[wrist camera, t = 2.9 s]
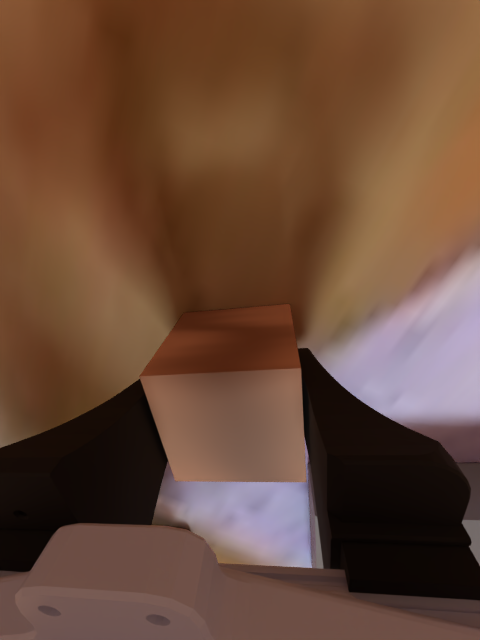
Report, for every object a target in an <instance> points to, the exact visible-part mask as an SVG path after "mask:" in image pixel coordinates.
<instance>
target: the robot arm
mask: <svg viewBox="0 0 480 640" xmlns="http://www.w3.org/2000/svg"><path fill="white" fill-rule="evenodd" d="M298 354H299V360H300V365H301V378H302V400H303V421H304V436H305V441H306V445H307V449H308V454H309V459H310V466H311V473H312V481H313V488H314V496H315V504H316V511H317V519H318V527H319V536H320V544H321V552H322V560H323V568H324V569H319V568H300V567H280V566H261V565H241V564H221V563H218V562H217V558H216V555H215V553H214V552H213V550H212V549H211V547H210V546H209V545H208V544H207V542H206V541H205V540H204V538H202V537H200V536H198V535H196V534H194V533H192V532H191V531H189V530H187V529H181V528H176V527H171V526H158V525H151V524H152V520H153V515H154V511H155V507H156V503H157V499H158V495H159V491H160V487H161V483H162V479H163V476H164V472H165V468H166V465H167V462H168V458H167V455H166V452H165V450H164V447H163V444H162V441H161V438H160V435H159V432H158V429H157V426H156V423H155V420H154V418H153V415H152V412H151V409H150V406H149V403H148V400H147V397H146V394H145V391H144V388H143V386H142V383H141V380H140V379H139V380H138V381H136V382H135V383H133V384H132V385H130V386H129V387H128V388H126V389H125V390H123V391H122V392H121V393H119V394H117V395H116V396H114V397H113V398H111V399H110V400H108V401H106V402H105V403H103V404H101V405H99V406H98V407H96V408H94V409H92V410H90V411H88V412H86V413H84V414H82V415H80V416H79V417H77V418H75V419H73V420H71V421H68V422H66V423H64V424H62V425H60V426H57V427H55V428H53V429H50V430H48V431H45V432H43V433H41V434H38V435H35V436H33V437H30V438H27V439H24V440H22V441H19V442H16V443H13V444H11V445H8V446H5V447H2V448H0V640H480V565H479V563H478V562H477V560H476V558H475V556H474V554H473V553H472V551H471V549H470V547H469V546H471V543H472V542H471V538H470V536H469V535H468V533H467V531H466V529H465V528H464V526H463V524H462V521H463V518H464V515H465V512H466V509H467V506H468V503H469V500H470V495H471V487H470V485H469V482H468V480H467V478H466V477H465V475H464V474H463V472H462V471H461V469H460V468H459V466H458V465H457V464H456V462H455V461H454V460H453V458H452V457H451V456H450V455H449V454H448V452H447V451H446V450H445V449H444V448H443V447H442V445H441V444H440V443H439V442H438V441H436V440H433V439H431V438H429V437H427V436H424V435H422V434H420V433H417V432H415V431H413V430H411V429H408V428H406V427H404V426H402V425H401V424H399V423H397V422H395V421H393V420H391V419H389V418H387V417H386V416H384V415H382V414H380V413H379V412H377V411H375V410H374V409H372V408H371V407H369V406H368V405H366V404H364V403H363V402H362V401H360V400H359V399H357V398H356V397H355V396H353V395H352V394H351V393H350V392H348V391H347V390H346V389H345V388H344V387H343V386H341V385H340V384H339V383H338V382H337V381H336V380H335V379H334V378H333V377H332V376H331V375H330V374H329V373H328V372H327V371H326V370H325V369H324V367H323V366H322V365H321V364H320V363H319V362H318V360H317V359H316V358H315V357H314V355H313V354H312V352H311V351H310V350H309V349H308V348H299V349H298Z"/></svg>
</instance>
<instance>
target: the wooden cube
mask: <svg viewBox="0 0 480 640" xmlns="http://www.w3.org/2000/svg"><path fill="white" fill-rule="evenodd" d="M139 377H140V380H141V383H142V386H143V388H144V391H145V394H146V397H147V400H148V403H149V406H150V409H151V412H152V415H153V418H154V420H155V423H156V426H157V429H158V432H159V435H160V438H161V441H162V444H163V447H164V450H165V452H166V455H167V458H168V461H169V464H170V467H171V470H172V473H173V476H174V479H175V481H215V482H306V464H305V443H304V421H303V400H302V378H301V365H300V360H299V354H298V348H297V343H296V337H295V331H294V326H293V320H292V314H291V308H290V304H282V305H270V306H258V307H246V308H234V309H223V310H211V311H199V312H187V313H183V315H182V316H181V318H180V319H179V321H178V322H177V323H176V325H175V326H174V328H173V329H172V331H171V332H170V333H169V335H168V336H167V338H166V339H165V341H164V342H163V343H162V345H161V346H160V348H159V349H158V351H157V352H156V353H155V355H154V356H153V358H152V359H151V361H150V362H149V363H148V365H147V366H146V368H145V369H144V371H143V372H142V373H141V375H140V376H139Z"/></svg>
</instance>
